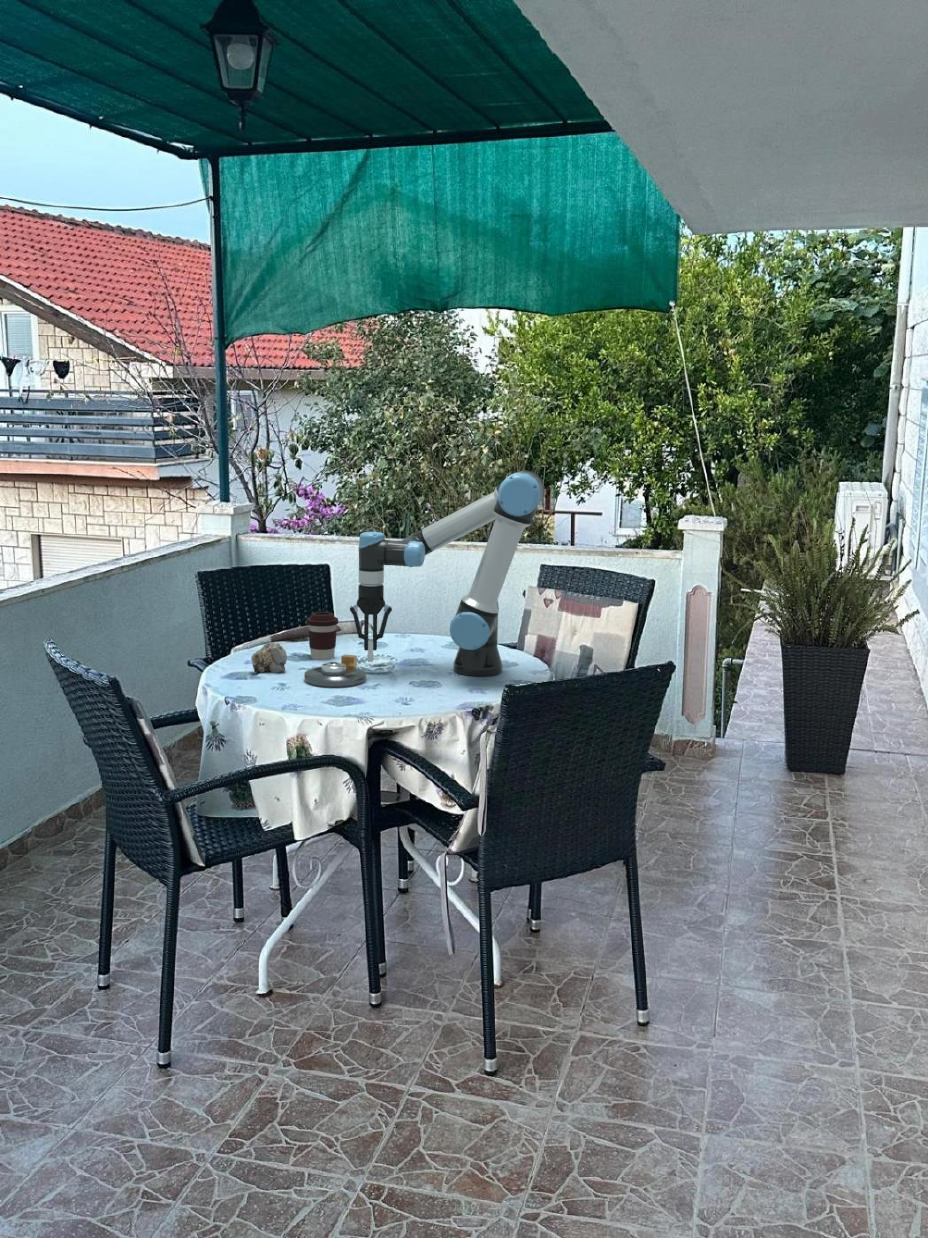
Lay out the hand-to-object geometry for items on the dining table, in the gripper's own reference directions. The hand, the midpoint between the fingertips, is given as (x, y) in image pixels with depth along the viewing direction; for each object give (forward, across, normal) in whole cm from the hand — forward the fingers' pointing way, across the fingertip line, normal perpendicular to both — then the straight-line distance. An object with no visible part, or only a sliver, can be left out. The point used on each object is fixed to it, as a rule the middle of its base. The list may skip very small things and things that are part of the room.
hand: (370, 660), depth 352 cm
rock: (+5, +30, -3) cm, 31 cm away
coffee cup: (+5, +15, -19) cm, 25 cm away
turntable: (+4, +10, +8) cm, 13 cm away
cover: (+2, +11, +9) cm, 15 cm away
